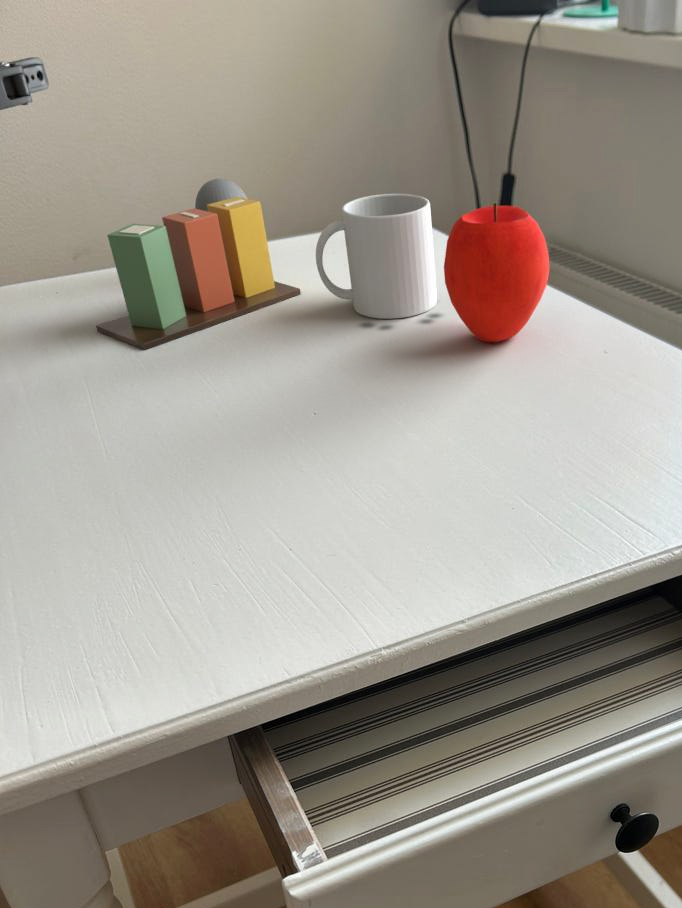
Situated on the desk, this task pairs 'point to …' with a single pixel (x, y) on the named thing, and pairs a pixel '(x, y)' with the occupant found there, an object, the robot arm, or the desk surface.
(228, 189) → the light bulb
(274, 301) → the dark brown rectangular board
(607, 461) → the desk surface
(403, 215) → the mug
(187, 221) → the block
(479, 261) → the apple
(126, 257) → the green rectangular block
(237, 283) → the yellow slotted money box
